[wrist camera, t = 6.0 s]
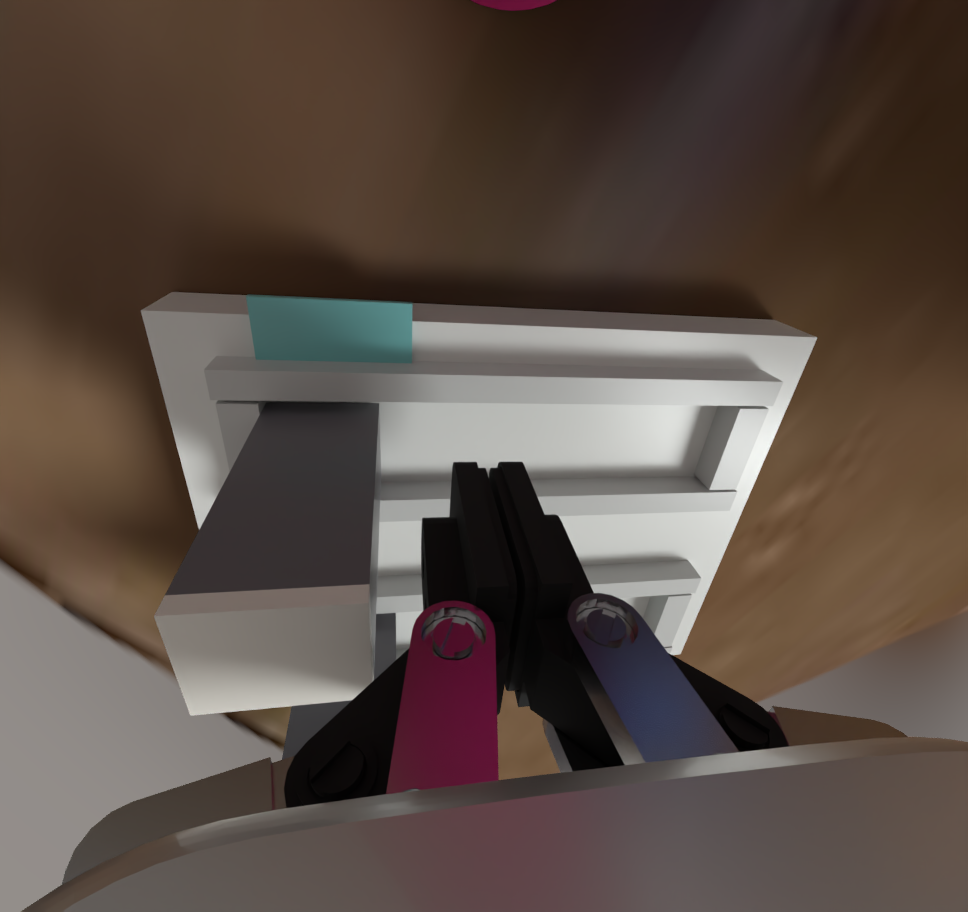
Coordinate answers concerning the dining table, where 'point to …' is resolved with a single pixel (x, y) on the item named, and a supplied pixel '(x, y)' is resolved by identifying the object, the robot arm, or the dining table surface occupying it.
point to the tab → (283, 567)
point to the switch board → (504, 421)
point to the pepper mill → (513, 4)
